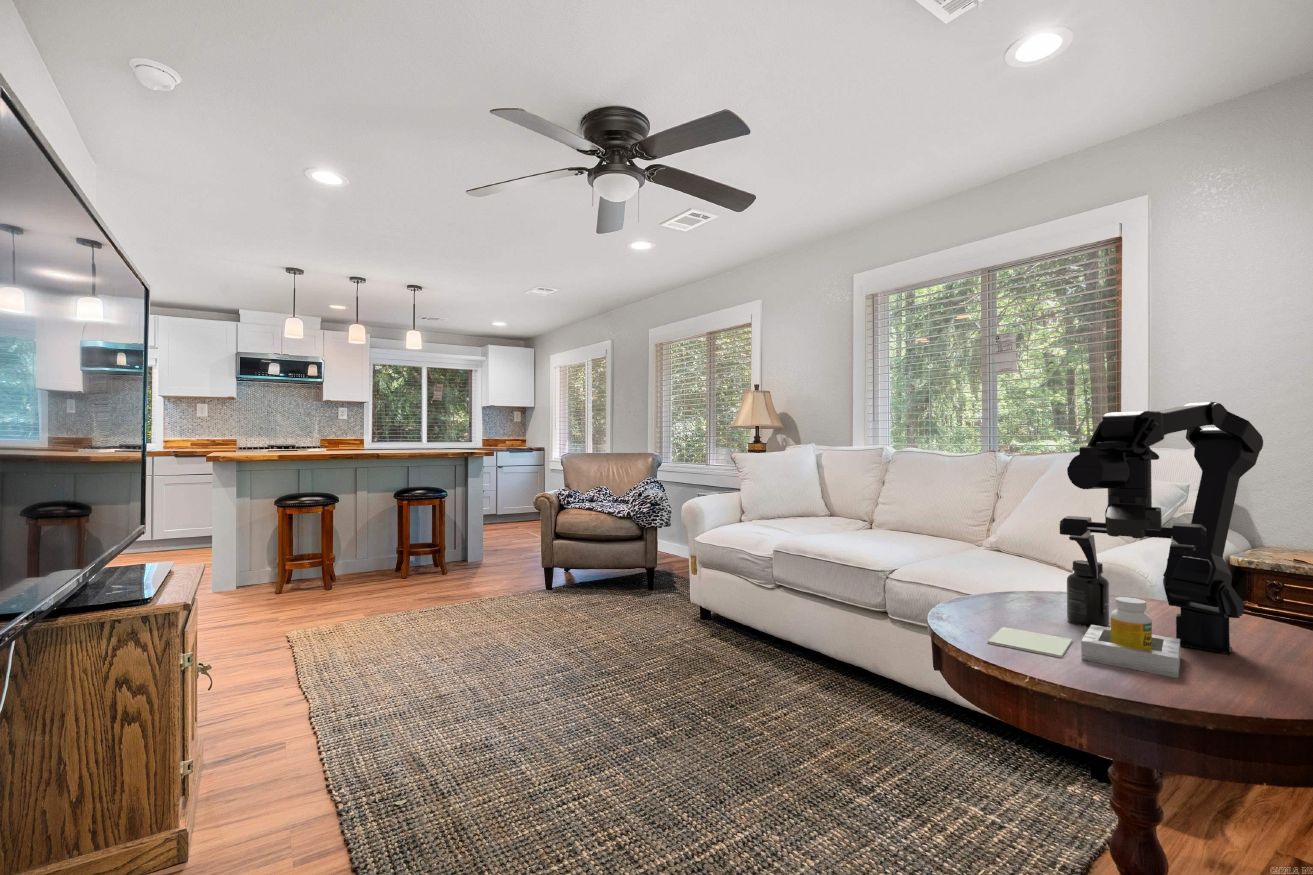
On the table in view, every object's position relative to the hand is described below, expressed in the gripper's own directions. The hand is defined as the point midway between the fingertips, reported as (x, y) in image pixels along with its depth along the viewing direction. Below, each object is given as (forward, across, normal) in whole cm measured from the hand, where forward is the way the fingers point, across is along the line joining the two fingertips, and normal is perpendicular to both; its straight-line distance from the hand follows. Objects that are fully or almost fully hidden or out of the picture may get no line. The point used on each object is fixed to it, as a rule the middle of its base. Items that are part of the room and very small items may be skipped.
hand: (1130, 582), depth 99 cm
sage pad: (+12, -14, -2) cm, 19 cm away
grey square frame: (+12, 0, 0) cm, 12 cm away
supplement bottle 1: (+13, -8, +19) cm, 24 cm away
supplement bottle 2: (+13, 0, 0) cm, 13 cm away
